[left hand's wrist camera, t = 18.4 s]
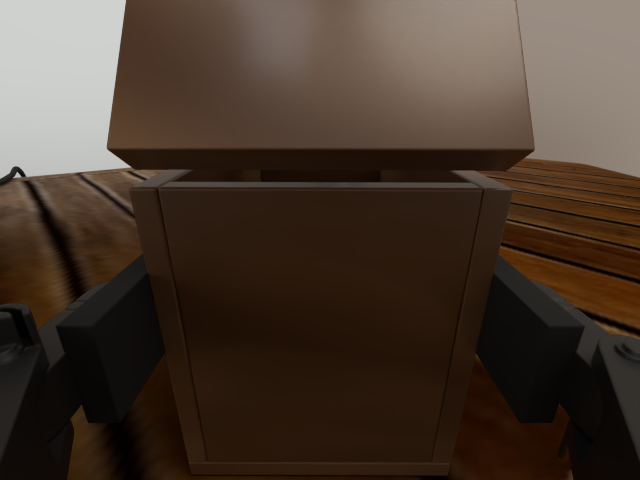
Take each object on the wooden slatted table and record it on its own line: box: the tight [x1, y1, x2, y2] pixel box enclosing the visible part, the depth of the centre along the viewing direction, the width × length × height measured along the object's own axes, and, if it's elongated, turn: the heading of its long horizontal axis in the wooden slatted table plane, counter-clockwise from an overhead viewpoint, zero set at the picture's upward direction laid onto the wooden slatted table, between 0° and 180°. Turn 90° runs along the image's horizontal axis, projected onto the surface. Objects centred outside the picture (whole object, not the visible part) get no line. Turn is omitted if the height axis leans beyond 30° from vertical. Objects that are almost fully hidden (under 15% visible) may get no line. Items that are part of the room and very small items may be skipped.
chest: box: [129, 170, 513, 476], centre depth 17 cm, size 15×9×11 cm, turn 0°
